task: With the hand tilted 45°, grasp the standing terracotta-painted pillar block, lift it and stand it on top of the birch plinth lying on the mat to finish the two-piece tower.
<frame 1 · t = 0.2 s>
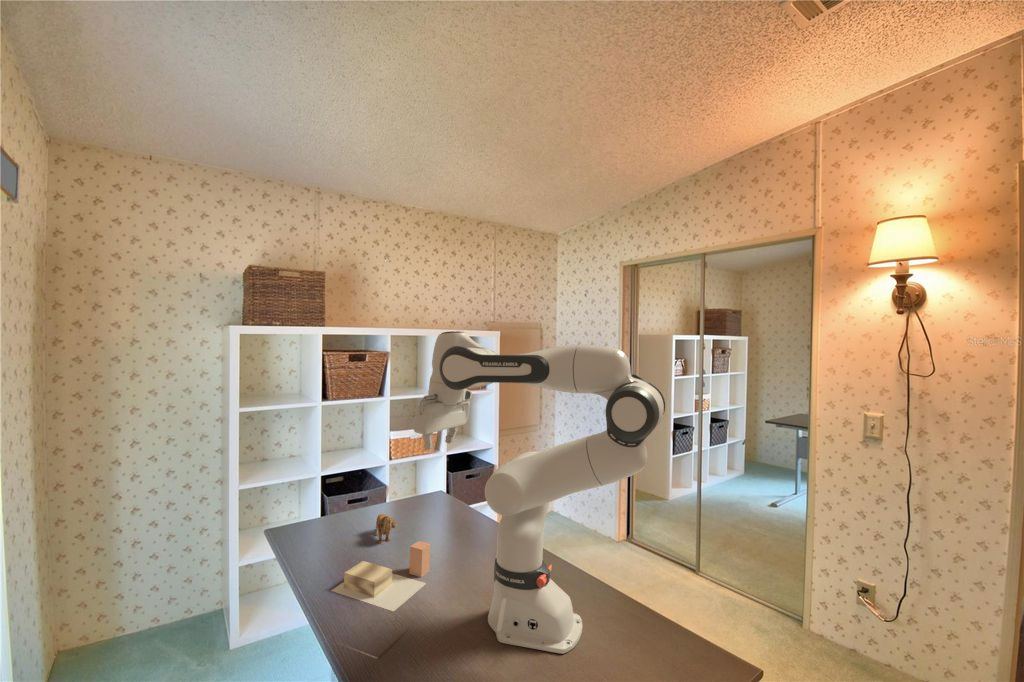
hand: (439, 445, 119), 39 cm above the table, tool pointing down, fingers open, 8 cm apart
plinth: (368, 585, 121), resting on mat
pillar: (419, 573, 129), on the table
mat: (379, 587, 121), on the table
lion figurine: (384, 538, 150), on the table
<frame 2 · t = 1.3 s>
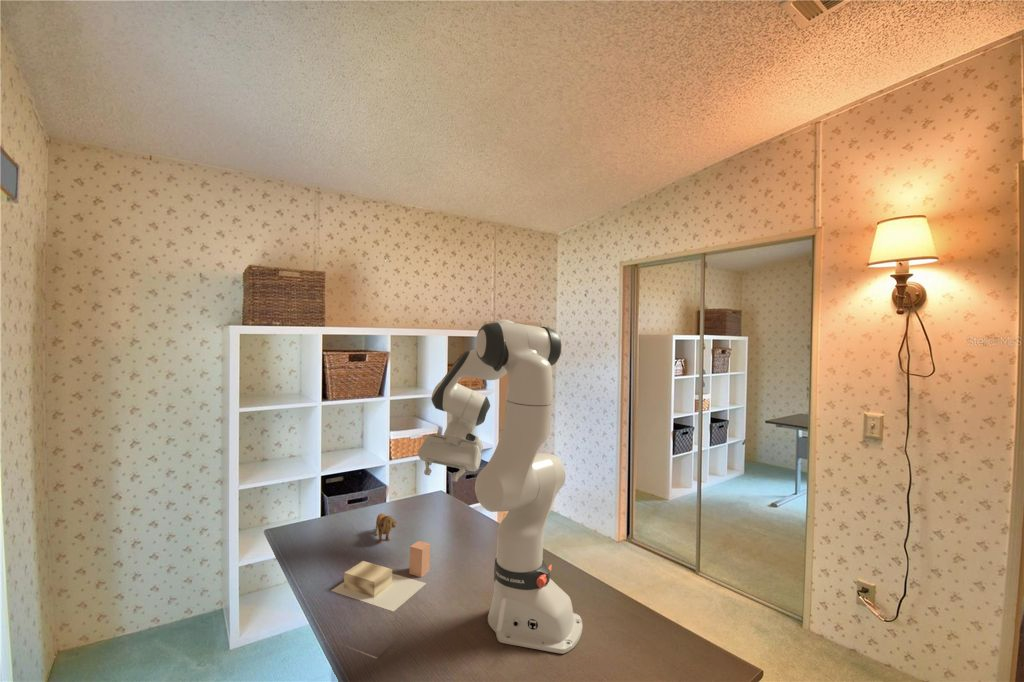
hand: (440, 477, 139), 24 cm above the table, tool tilted 45°, fingers open, 8 cm apart
nothing on the table moved.
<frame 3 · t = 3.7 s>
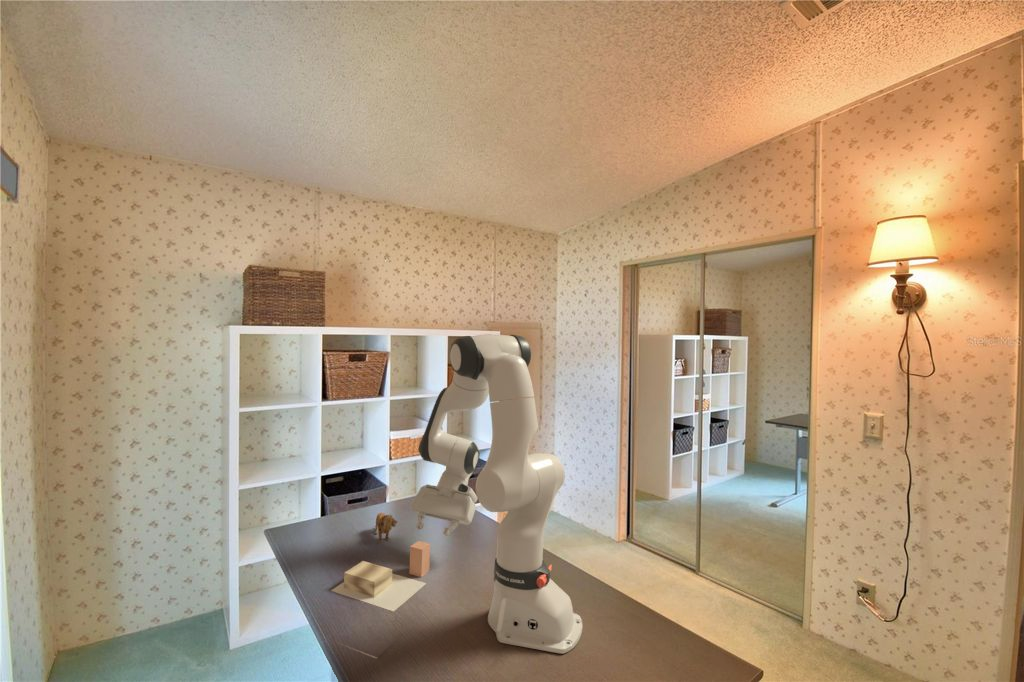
hand: (432, 531, 135), 9 cm above the table, tool tilted 45°, fingers open, 8 cm apart
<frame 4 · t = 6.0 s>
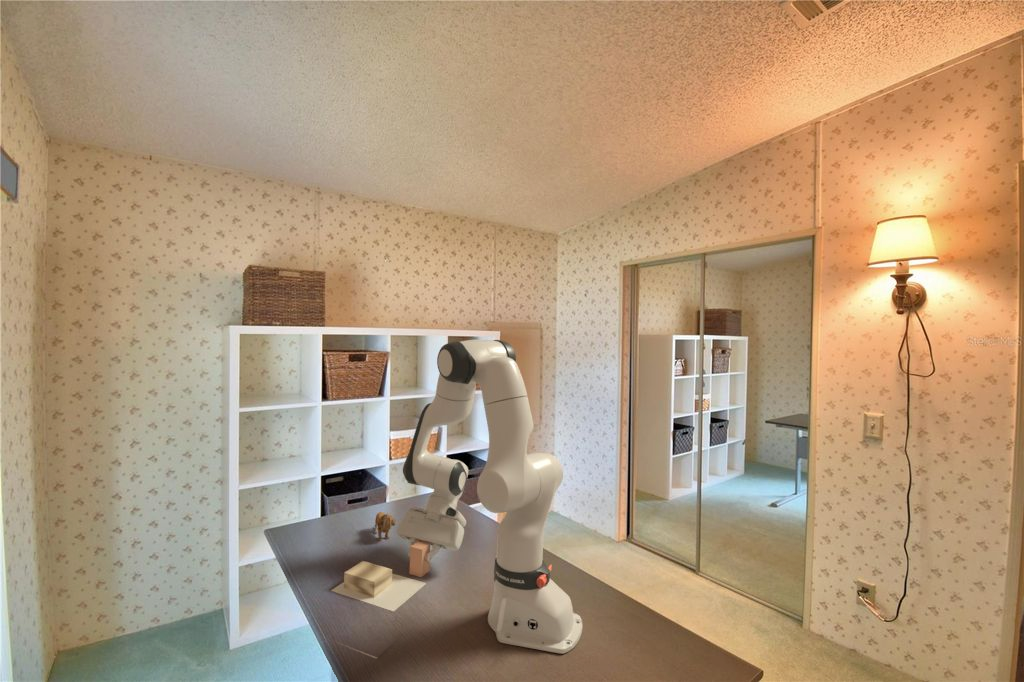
hand: (418, 558, 129), 4 cm above the table, tool tilted 45°, fingers closed on pillar, 4 cm apart
pillar: (419, 573, 129), on the table, touching gripper
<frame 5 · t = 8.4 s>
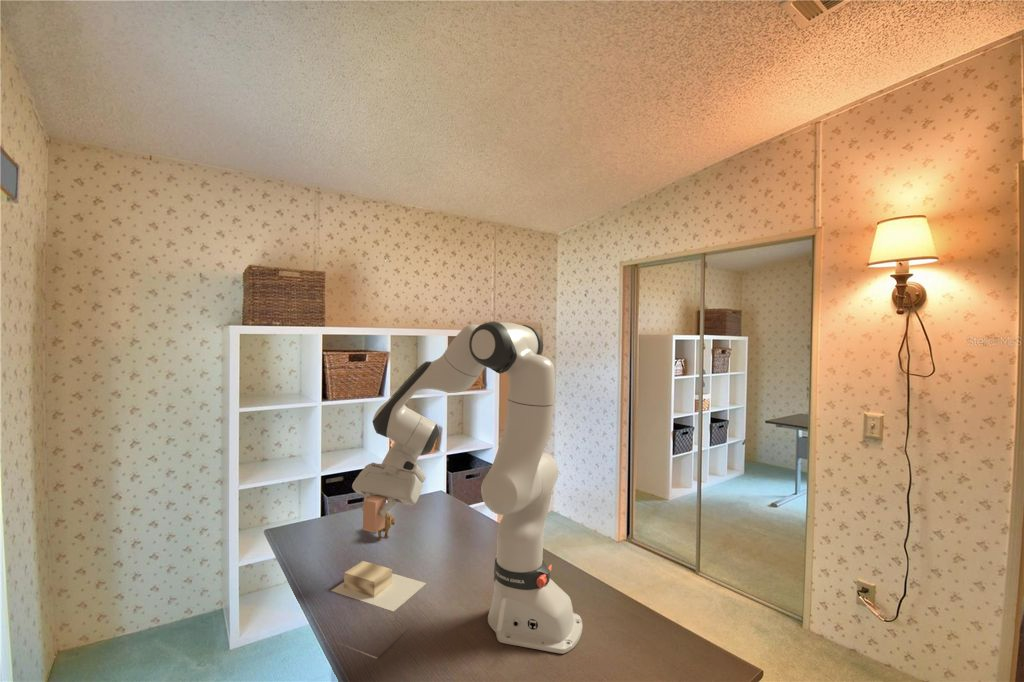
hand: (372, 513, 121), 20 cm above the table, tool tilted 45°, fingers closed on pillar, 4 cm apart
pillar: (373, 528, 122), point 15 cm above the table, touching gripper
when the fingers open (10 cm above the table, at t = 11.2 s): pillar drops 1 cm, resting on plinth.
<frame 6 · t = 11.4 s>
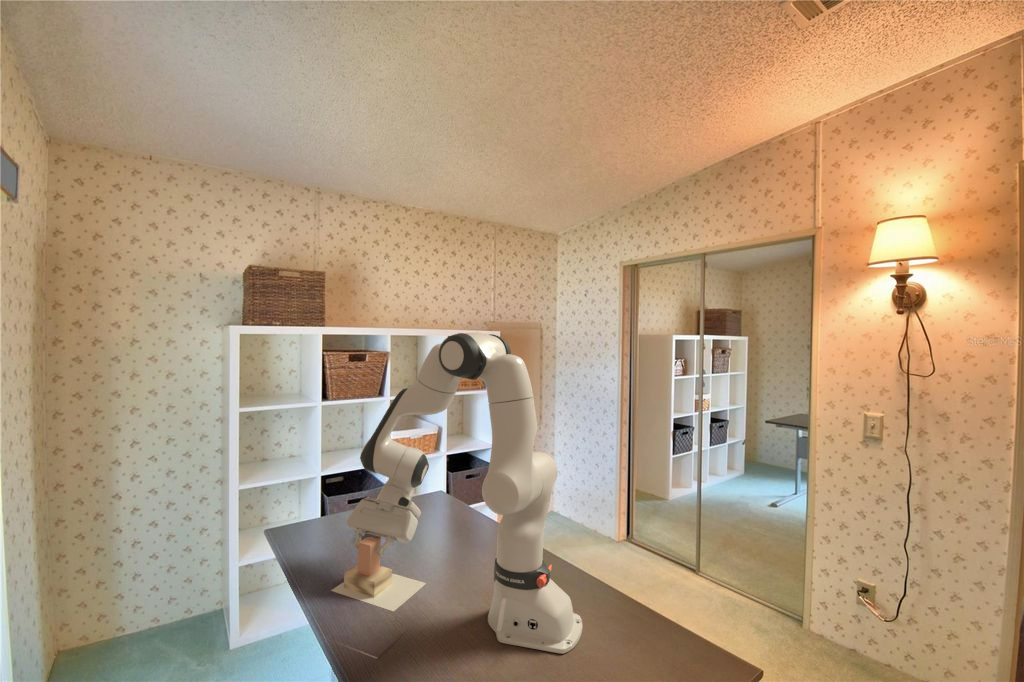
hand: (367, 551, 121), 10 cm above the table, tool tilted 45°, fingers open, 6 cm apart
plinth: (368, 585, 121), resting on mat, touching pillar
pillar: (368, 570, 121), point 4 cm above the table, touching plinth
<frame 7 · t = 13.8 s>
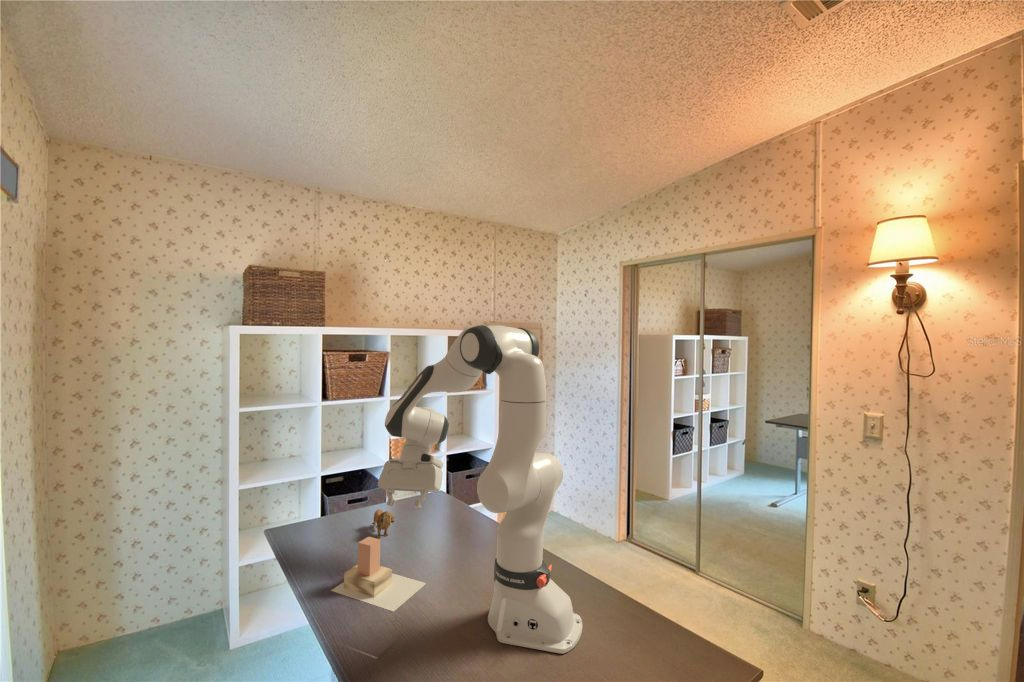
hand: (403, 506, 133), 17 cm above the table, tool tilted 30°, fingers open, 8 cm apart
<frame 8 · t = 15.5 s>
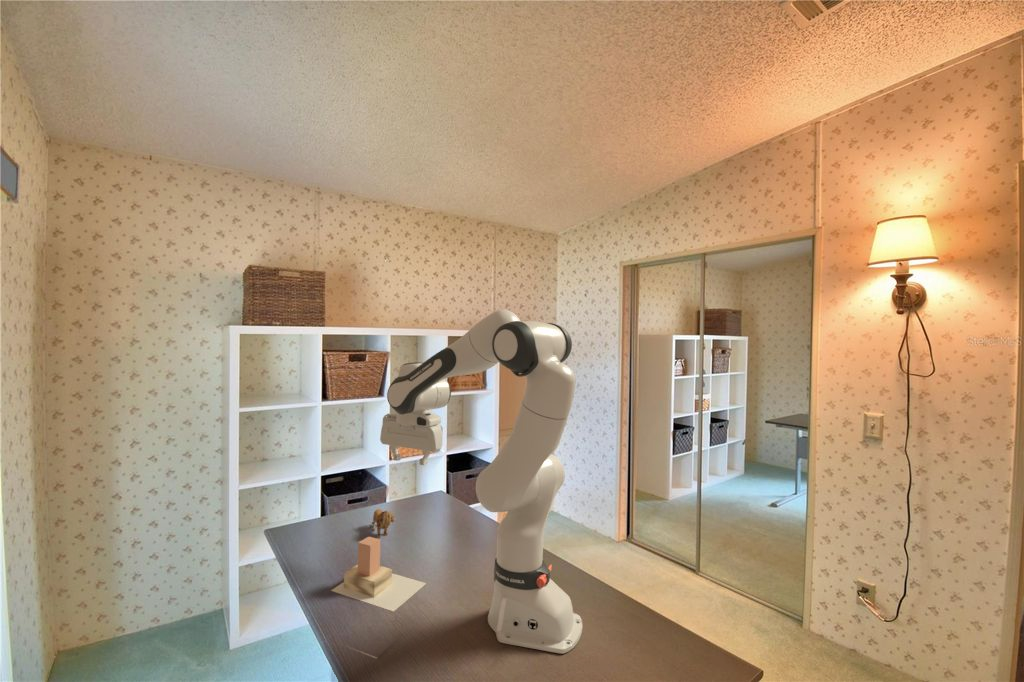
hand: (409, 462, 137), 29 cm above the table, tool pointing down, fingers open, 8 cm apart
at the end: pillar inside the target area on the plinth (0.1 cm from its centre), point 4.0 cm above the plinth's base; pillar tilted 0°; the gripper is holding nothing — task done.
